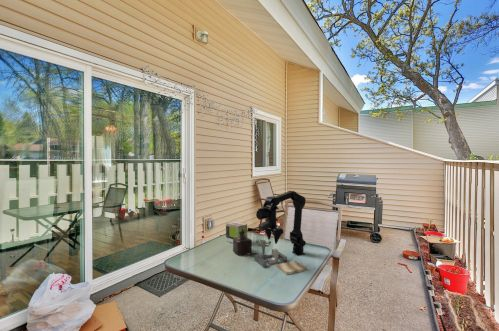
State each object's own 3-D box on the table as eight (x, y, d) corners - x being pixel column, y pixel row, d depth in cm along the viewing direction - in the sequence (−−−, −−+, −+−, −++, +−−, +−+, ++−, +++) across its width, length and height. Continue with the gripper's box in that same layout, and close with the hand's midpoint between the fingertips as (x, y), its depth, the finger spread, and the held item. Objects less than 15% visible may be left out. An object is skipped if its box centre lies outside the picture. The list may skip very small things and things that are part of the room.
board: (295, 262, 159) (295, 260, 159) (307, 269, 148) (307, 267, 148) (275, 266, 153) (275, 264, 153) (286, 274, 142) (286, 272, 142)
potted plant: (231, 251, 180) (231, 226, 180) (245, 248, 185) (245, 224, 185) (240, 258, 166) (240, 231, 166) (255, 255, 171) (255, 229, 171)
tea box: (247, 242, 199) (247, 223, 199) (238, 245, 192) (238, 226, 191) (234, 238, 209) (234, 220, 209) (225, 241, 202) (225, 223, 202)
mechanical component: (270, 256, 170) (270, 241, 169) (255, 255, 172) (255, 240, 172) (271, 254, 173) (271, 240, 172) (256, 253, 175) (256, 239, 174)
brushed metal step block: (276, 260, 162) (275, 248, 162) (278, 262, 159) (278, 249, 159) (266, 262, 159) (266, 250, 159) (268, 264, 156) (268, 251, 156)
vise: (277, 256, 170) (277, 250, 170) (287, 262, 159) (287, 257, 159) (254, 260, 163) (254, 255, 163) (263, 267, 152) (263, 261, 152)
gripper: (254, 215, 165) (254, 239, 166) (267, 221, 148) (267, 248, 149) (269, 213, 170) (269, 236, 170) (283, 219, 153) (284, 245, 153)
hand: (272, 241), depth 160 cm, fingers open, 9 cm apart
